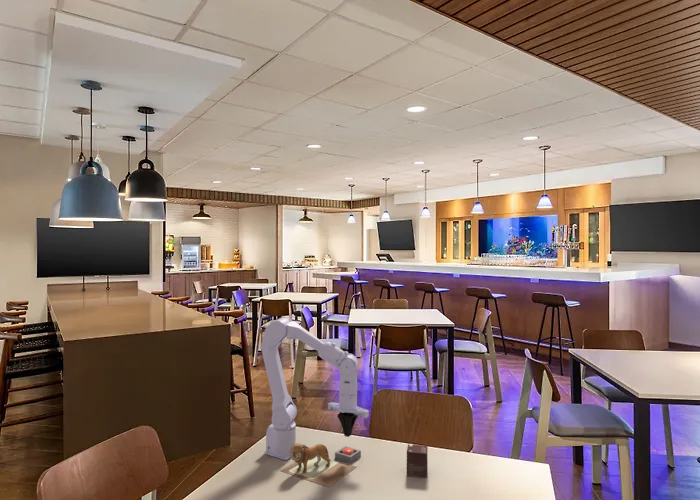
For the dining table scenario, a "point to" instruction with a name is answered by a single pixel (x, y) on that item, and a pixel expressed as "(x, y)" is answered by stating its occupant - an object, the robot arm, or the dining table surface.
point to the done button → (348, 451)
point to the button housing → (347, 458)
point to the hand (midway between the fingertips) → (347, 435)
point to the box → (417, 461)
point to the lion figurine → (308, 455)
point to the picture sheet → (320, 471)
